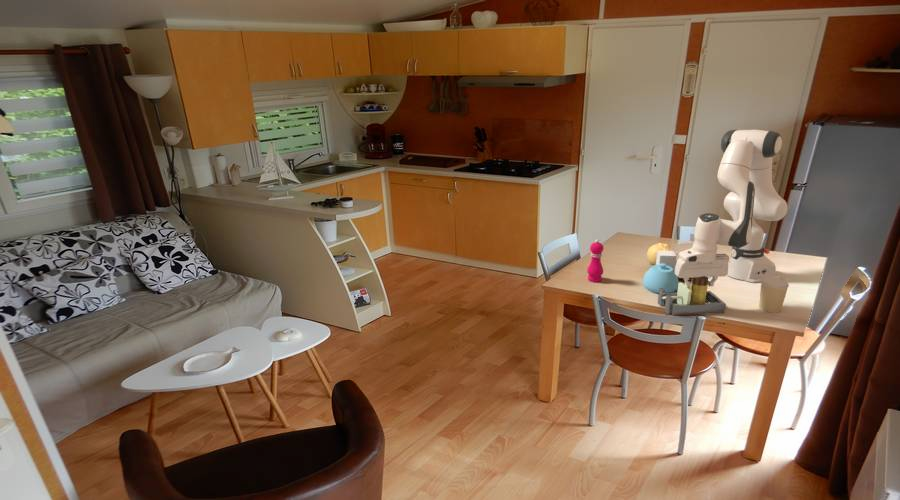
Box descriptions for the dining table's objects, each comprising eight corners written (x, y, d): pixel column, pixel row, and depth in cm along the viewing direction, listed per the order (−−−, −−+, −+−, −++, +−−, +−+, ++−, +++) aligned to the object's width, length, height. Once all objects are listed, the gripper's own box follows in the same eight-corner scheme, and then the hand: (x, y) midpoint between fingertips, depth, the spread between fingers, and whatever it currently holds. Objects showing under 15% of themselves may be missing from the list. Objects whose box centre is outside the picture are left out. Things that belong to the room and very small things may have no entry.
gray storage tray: (708, 299, 218) (711, 284, 216) (724, 312, 207) (726, 297, 204) (656, 301, 218) (658, 286, 216) (668, 315, 206) (670, 299, 204)
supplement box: (674, 281, 237) (677, 256, 232) (656, 281, 238) (659, 255, 234) (670, 275, 243) (673, 250, 239) (654, 274, 245) (657, 249, 241)
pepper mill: (589, 275, 247) (591, 236, 240) (604, 278, 243) (607, 238, 236) (584, 281, 241) (587, 240, 234) (600, 283, 237) (603, 243, 230)
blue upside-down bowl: (676, 297, 221) (679, 272, 217) (639, 291, 228) (641, 267, 224) (680, 284, 234) (683, 260, 230) (645, 279, 241) (647, 256, 237)
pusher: (679, 302, 216) (681, 282, 213) (688, 311, 208) (691, 291, 205) (657, 303, 216) (659, 283, 213) (666, 312, 208) (668, 292, 205)
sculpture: (674, 268, 251) (677, 247, 248) (649, 268, 253) (651, 247, 249) (668, 259, 262) (670, 239, 258) (643, 259, 263) (645, 239, 260)
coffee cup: (771, 302, 214) (777, 275, 210) (789, 312, 205) (794, 284, 201) (751, 304, 213) (756, 277, 208) (767, 314, 204) (773, 286, 200)
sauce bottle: (707, 308, 210) (716, 263, 203) (694, 310, 209) (702, 265, 202) (696, 301, 216) (704, 258, 209) (683, 303, 215) (691, 259, 208)
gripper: (725, 250, 208) (720, 282, 212) (675, 252, 207) (671, 284, 212) (733, 256, 202) (728, 288, 206) (682, 258, 201) (677, 290, 206)
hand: (699, 286), depth 209 cm, fingers open, 8 cm apart
